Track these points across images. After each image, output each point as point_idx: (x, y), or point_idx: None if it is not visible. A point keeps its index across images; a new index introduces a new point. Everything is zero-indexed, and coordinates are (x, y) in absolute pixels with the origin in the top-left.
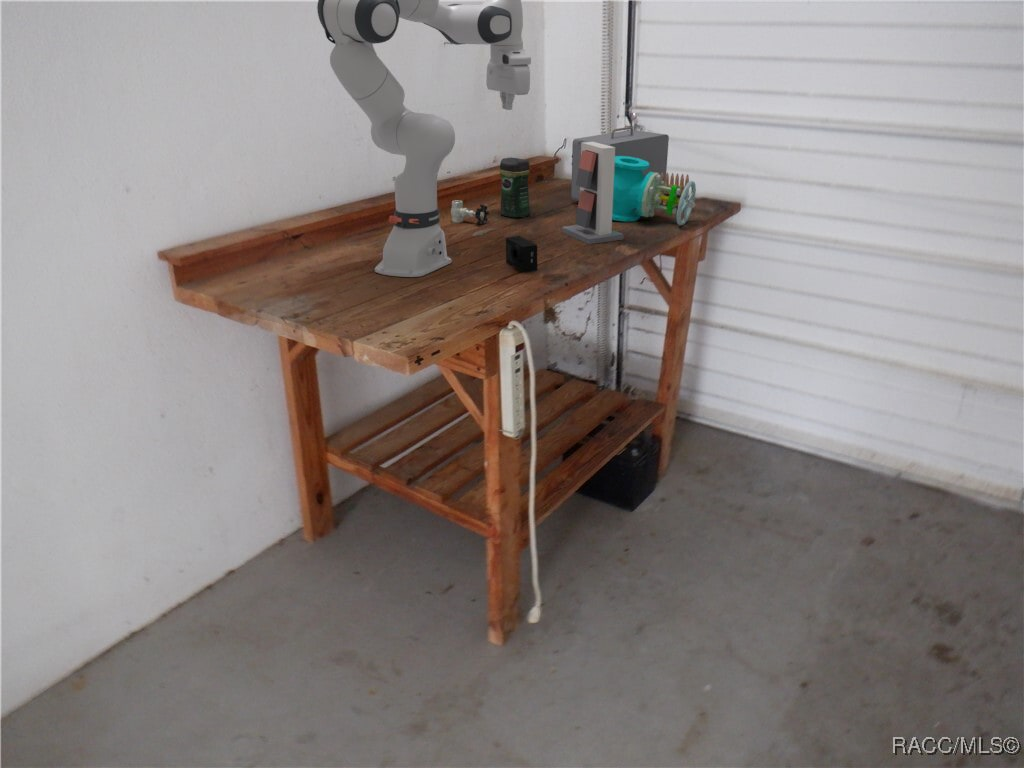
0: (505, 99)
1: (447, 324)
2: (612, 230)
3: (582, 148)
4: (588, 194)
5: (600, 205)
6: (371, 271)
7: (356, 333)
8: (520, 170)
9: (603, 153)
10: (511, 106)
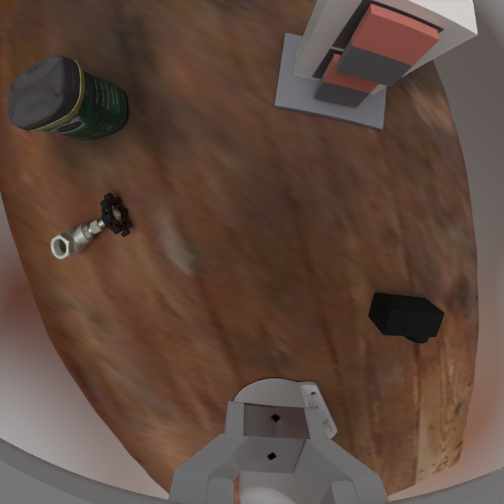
0: (231, 471)
1: (450, 435)
2: None
3: None
4: None
5: None
6: None
7: (406, 483)
8: (77, 93)
9: (468, 38)
10: (319, 425)
